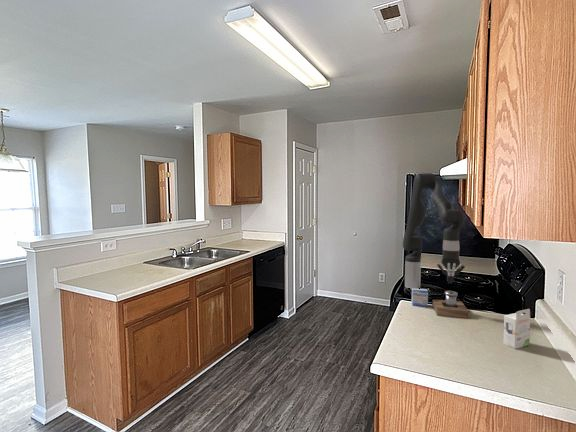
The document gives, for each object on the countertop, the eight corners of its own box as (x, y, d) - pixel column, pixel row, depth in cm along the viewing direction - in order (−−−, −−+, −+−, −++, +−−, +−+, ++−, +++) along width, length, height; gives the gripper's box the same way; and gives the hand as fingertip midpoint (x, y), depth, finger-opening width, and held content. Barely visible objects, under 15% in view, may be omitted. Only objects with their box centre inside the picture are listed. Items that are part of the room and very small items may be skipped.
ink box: (517, 340, 131) (518, 304, 130) (530, 345, 126) (531, 308, 125) (502, 343, 127) (503, 307, 126) (515, 349, 123) (516, 311, 122)
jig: (432, 305, 171) (432, 299, 171) (461, 308, 167) (461, 301, 167) (437, 315, 158) (437, 308, 157) (468, 318, 154) (468, 310, 154)
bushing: (443, 309, 166) (443, 290, 165) (455, 310, 164) (456, 291, 164) (445, 313, 160) (446, 293, 160) (458, 314, 159) (458, 294, 158)
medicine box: (412, 305, 172) (412, 289, 171) (411, 303, 176) (411, 287, 176) (427, 307, 170) (428, 291, 169) (426, 304, 174) (427, 288, 173)
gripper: (463, 248, 162) (462, 282, 163) (435, 247, 166) (434, 280, 167) (467, 250, 155) (466, 286, 156) (438, 249, 159) (437, 284, 160)
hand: (450, 283), depth 162 cm, fingers closed
